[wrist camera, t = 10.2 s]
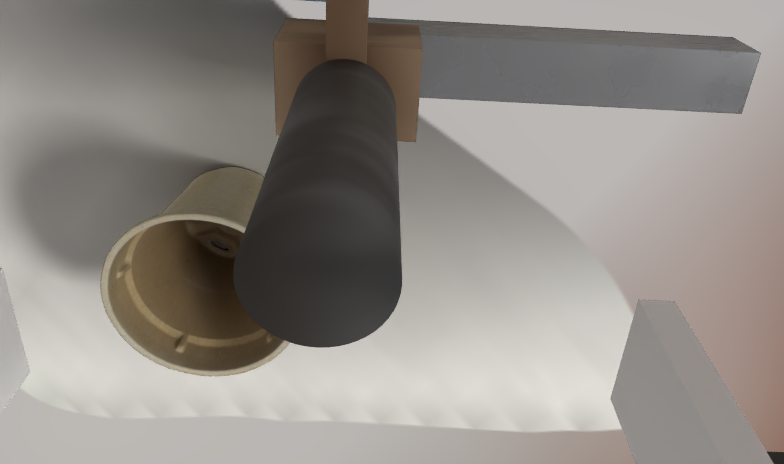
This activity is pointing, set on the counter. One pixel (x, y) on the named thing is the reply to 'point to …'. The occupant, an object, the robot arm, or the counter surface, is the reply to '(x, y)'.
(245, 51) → the counter surface
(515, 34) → the rail
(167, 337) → the flower pot
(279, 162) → the pusher
